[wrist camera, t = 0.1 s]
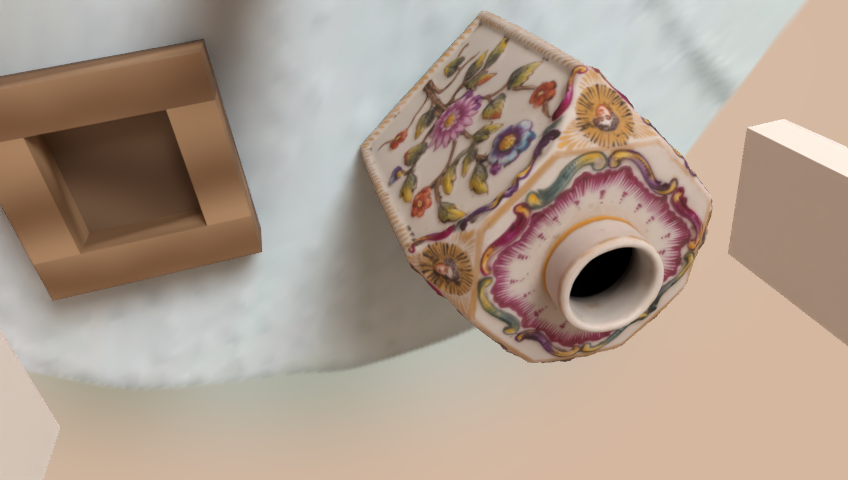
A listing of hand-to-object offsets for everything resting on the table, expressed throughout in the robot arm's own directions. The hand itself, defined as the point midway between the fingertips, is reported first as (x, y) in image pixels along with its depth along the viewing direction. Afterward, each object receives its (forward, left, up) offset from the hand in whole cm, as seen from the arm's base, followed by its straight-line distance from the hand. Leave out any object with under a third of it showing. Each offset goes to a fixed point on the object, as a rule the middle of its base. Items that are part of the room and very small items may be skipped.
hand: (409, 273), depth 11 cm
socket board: (+7, -11, -28) cm, 31 cm away
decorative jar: (+10, +10, -28) cm, 31 cm away
